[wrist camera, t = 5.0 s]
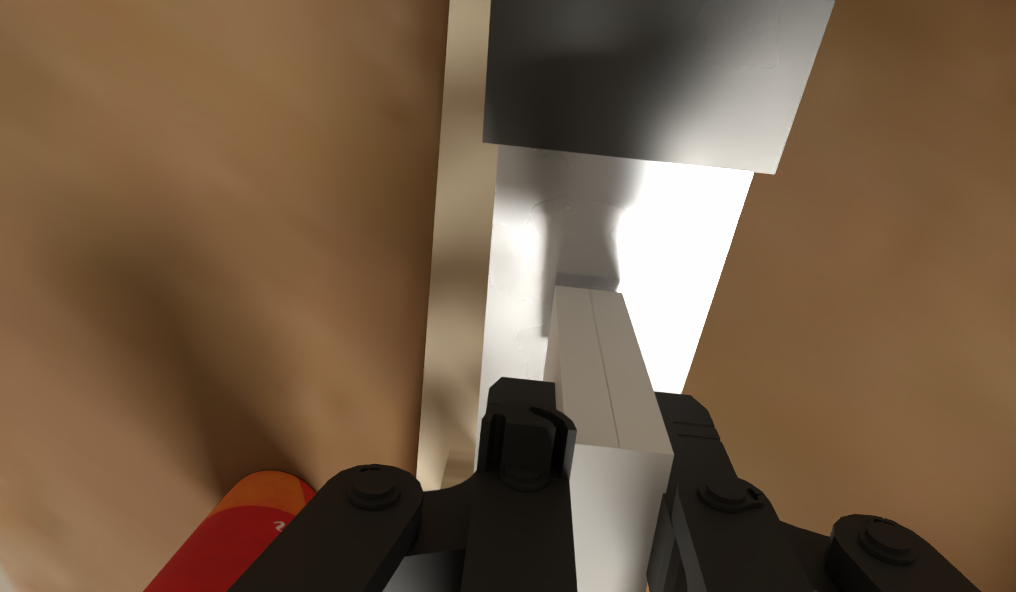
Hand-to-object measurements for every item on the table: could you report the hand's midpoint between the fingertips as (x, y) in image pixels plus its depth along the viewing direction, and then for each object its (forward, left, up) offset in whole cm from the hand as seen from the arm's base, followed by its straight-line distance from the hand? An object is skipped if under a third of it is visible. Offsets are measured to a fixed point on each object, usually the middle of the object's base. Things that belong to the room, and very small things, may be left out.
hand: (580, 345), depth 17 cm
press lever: (-3, 0, -4) cm, 5 cm away
